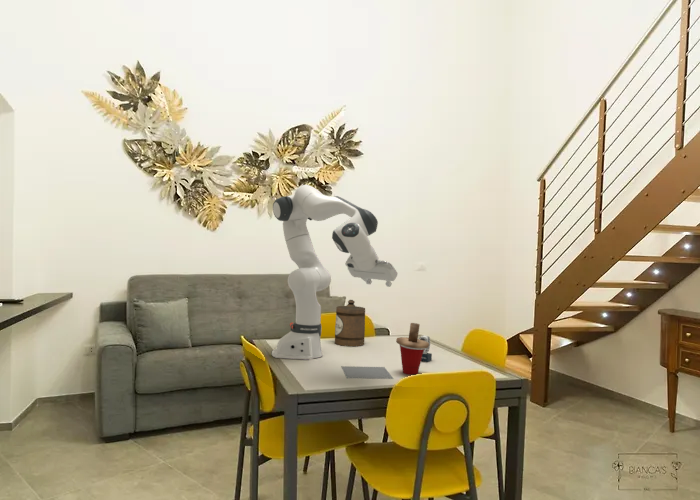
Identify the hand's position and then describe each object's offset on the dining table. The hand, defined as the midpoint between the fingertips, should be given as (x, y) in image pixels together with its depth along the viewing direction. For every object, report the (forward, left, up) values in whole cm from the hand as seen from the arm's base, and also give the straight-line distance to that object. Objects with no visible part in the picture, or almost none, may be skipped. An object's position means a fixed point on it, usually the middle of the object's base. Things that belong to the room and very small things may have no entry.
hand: (379, 284), depth 212 cm
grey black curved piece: (+27, +24, -36) cm, 50 cm away
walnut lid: (+14, 0, -23) cm, 28 cm away
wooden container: (-2, +58, -36) cm, 68 cm away
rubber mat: (-3, 0, -35) cm, 35 cm away
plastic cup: (+15, 0, -36) cm, 38 cm away
